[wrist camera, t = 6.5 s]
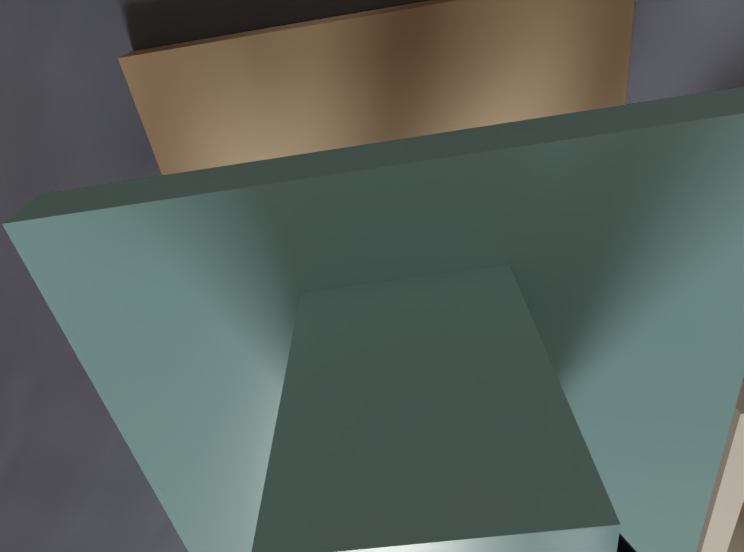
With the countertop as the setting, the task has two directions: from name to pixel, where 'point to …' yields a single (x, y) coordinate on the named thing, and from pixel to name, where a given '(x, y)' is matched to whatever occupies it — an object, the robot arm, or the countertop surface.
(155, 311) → the lid
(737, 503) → the storage box
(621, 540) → the robot arm
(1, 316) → the countertop surface
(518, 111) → the wooden board
